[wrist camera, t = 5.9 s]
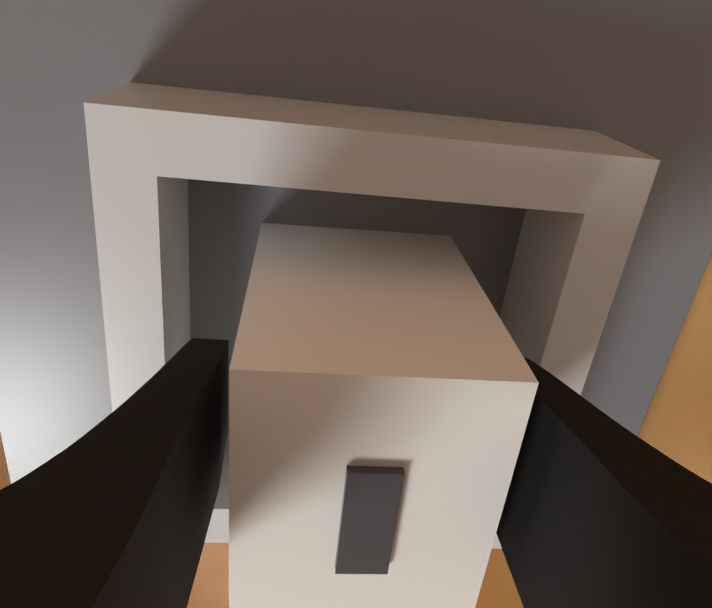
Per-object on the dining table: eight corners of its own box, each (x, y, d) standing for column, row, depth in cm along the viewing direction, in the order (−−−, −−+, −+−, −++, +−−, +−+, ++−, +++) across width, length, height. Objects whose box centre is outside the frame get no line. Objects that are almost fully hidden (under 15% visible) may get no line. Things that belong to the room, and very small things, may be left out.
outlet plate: (772, 12, 12) (934, 16, 9) (580, 515, 18) (636, 620, 15) (-72, -99, 10) (-241, -145, 7) (35, 499, 16) (-29, 615, 13)
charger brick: (450, 235, 13) (542, 389, 8) (417, 422, 15) (471, 636, 10) (261, 222, 12) (227, 376, 7) (256, 416, 14) (227, 638, 9)
